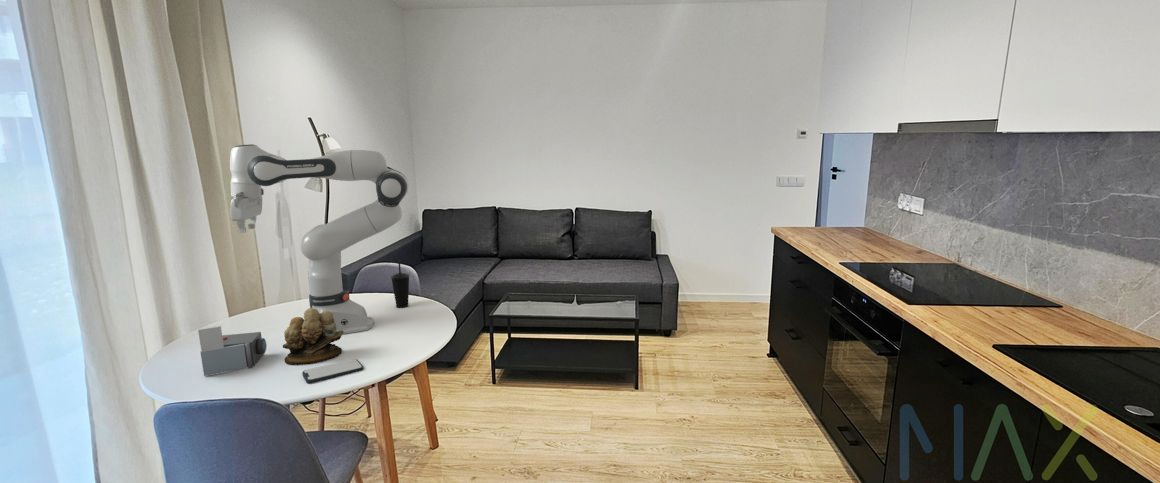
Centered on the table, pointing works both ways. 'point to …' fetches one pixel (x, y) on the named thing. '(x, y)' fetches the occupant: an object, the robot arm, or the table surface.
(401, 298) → the drinking cup
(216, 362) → the side door
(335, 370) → the phone case
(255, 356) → the camera body
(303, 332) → the owl figurine
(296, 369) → the table surface
